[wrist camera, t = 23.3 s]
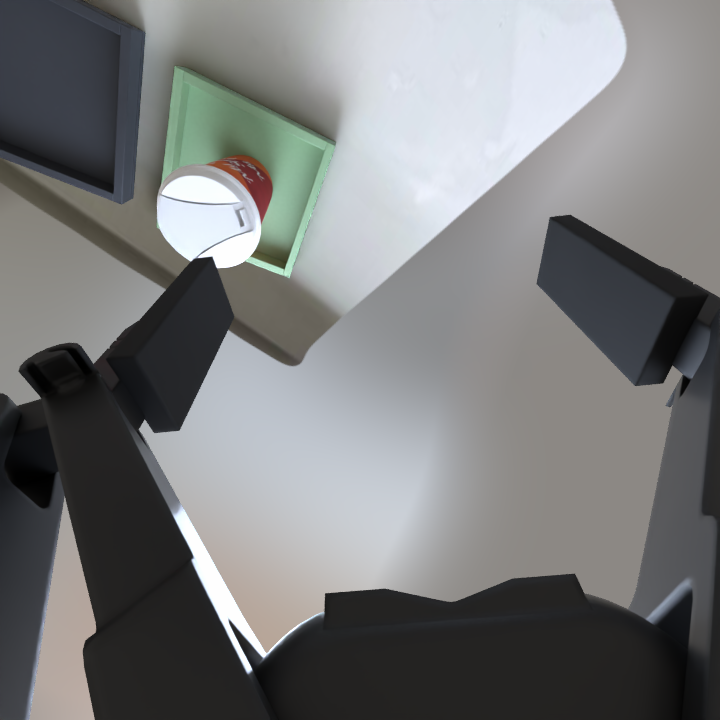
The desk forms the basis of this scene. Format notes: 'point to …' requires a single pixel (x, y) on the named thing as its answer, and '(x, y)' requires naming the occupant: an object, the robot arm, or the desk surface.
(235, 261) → the paper cup
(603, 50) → the desk surface
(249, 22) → the desk surface
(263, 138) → the sage tray
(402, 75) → the desk surface
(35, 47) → the charcoal tray
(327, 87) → the desk surface
